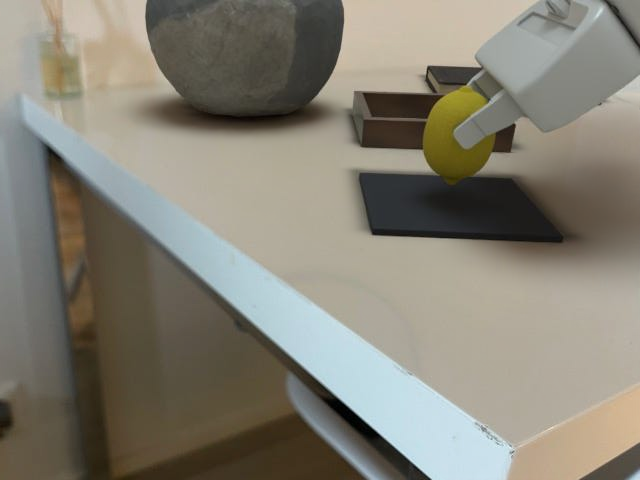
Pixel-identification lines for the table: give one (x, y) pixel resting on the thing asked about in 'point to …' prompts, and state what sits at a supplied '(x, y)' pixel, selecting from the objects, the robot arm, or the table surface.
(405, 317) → the table surface
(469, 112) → the lemon
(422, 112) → the tray
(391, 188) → the pad
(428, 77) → the hardcover book
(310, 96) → the bowl
